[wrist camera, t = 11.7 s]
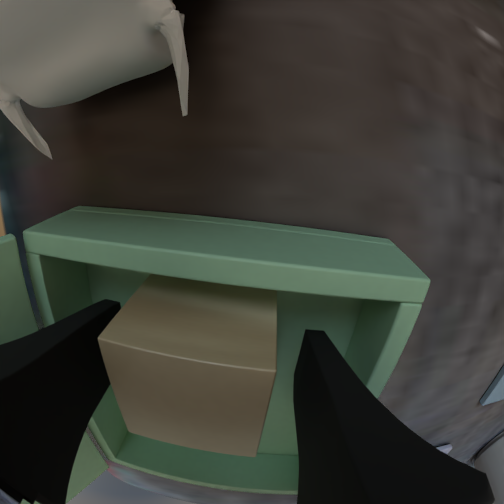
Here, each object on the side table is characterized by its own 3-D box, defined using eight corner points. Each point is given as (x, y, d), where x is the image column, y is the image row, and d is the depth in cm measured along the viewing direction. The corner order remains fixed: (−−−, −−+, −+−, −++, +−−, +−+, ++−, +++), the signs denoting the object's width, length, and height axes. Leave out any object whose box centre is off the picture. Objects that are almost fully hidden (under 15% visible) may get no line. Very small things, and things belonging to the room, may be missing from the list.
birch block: (262, 371, 11) (256, 457, 7) (163, 355, 11) (128, 432, 7) (277, 281, 9) (277, 371, 5) (156, 266, 9) (96, 337, 6)
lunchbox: (389, 238, 9) (432, 280, 6) (308, 451, 14) (310, 494, 11) (78, 205, 9) (21, 230, 6) (125, 421, 14) (107, 459, 11)
